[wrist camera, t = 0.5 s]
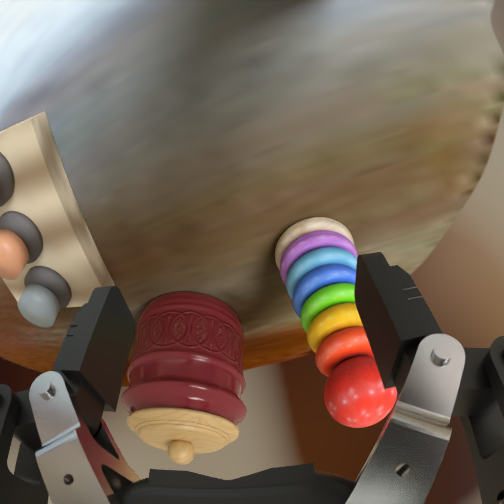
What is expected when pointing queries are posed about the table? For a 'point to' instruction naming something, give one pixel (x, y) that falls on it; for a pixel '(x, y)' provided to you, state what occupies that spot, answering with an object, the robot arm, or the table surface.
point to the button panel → (46, 216)
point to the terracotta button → (12, 255)
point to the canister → (186, 375)
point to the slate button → (39, 305)
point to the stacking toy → (333, 318)
